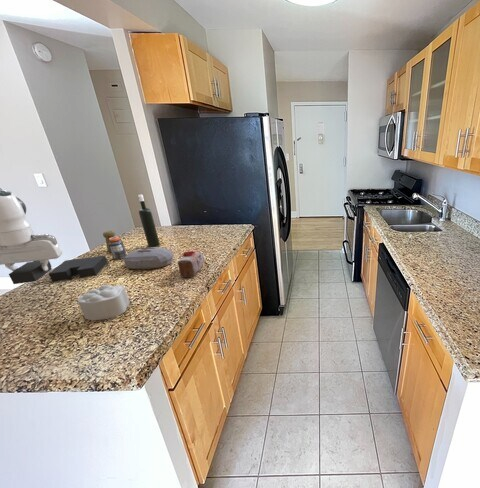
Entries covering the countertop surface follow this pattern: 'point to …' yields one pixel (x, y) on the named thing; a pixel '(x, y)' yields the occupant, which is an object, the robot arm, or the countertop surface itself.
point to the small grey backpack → (148, 258)
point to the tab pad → (28, 272)
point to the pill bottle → (117, 248)
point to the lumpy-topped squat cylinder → (104, 302)
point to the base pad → (78, 268)
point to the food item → (190, 263)
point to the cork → (108, 235)
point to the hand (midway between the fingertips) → (31, 272)
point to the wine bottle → (148, 224)
